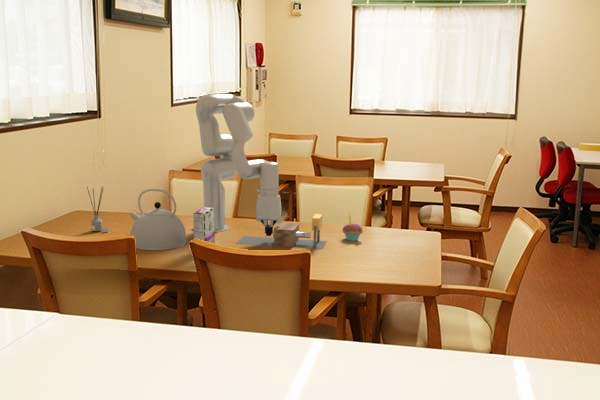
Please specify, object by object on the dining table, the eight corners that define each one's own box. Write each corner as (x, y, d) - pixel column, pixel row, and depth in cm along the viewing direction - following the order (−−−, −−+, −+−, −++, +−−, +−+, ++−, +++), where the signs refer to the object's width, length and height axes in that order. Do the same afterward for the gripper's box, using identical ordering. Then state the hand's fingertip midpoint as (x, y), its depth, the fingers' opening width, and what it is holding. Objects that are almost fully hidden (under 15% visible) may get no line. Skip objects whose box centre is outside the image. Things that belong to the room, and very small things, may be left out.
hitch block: (274, 245, 266) (274, 224, 264) (280, 238, 277) (280, 217, 275) (315, 248, 263) (316, 226, 261) (319, 241, 274) (320, 220, 273)
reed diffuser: (84, 231, 285) (82, 186, 281) (94, 227, 291) (92, 183, 287) (104, 233, 282) (103, 188, 278) (114, 230, 288) (112, 185, 284)
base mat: (235, 245, 268) (235, 243, 268) (243, 237, 280) (243, 235, 280) (322, 250, 262) (322, 249, 262) (326, 242, 274) (327, 241, 274)
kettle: (113, 245, 264) (111, 190, 259) (146, 233, 285) (144, 182, 280) (167, 252, 255) (165, 196, 251) (196, 239, 276) (195, 186, 271)
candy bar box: (203, 246, 265) (202, 206, 262) (214, 247, 264) (214, 207, 261) (193, 253, 254) (192, 212, 251) (205, 254, 253) (205, 213, 250)
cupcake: (348, 243, 273) (349, 215, 271) (338, 238, 281) (339, 211, 278) (366, 241, 277) (367, 214, 275) (355, 236, 285) (356, 210, 282)
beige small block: (311, 230, 264) (312, 218, 263) (314, 225, 271) (315, 213, 270) (319, 230, 263) (319, 218, 262) (321, 226, 271) (322, 214, 270)
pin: (273, 240, 269) (273, 229, 268) (275, 237, 273) (275, 226, 273) (309, 242, 267) (309, 231, 266) (311, 239, 271) (311, 228, 270)
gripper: (249, 192, 265) (249, 236, 269) (285, 194, 263) (284, 238, 267) (253, 189, 273) (253, 232, 276) (288, 191, 270) (288, 234, 274)
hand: (268, 235), depth 271 cm, fingers closed
